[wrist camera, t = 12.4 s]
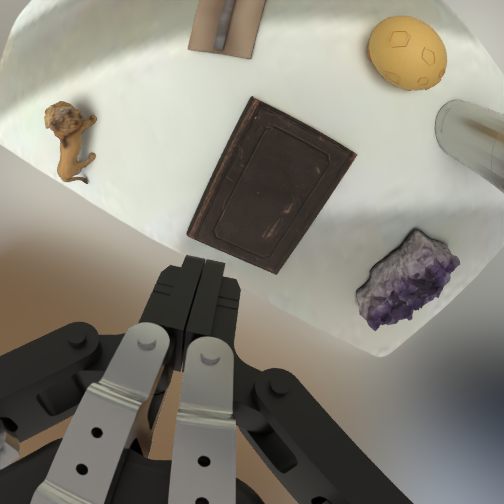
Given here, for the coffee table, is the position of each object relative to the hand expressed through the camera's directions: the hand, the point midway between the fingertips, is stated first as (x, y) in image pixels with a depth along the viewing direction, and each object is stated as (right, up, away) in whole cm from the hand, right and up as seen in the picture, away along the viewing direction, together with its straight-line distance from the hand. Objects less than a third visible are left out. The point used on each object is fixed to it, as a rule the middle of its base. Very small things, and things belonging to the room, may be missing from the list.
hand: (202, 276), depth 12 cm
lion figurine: (-24, +19, +28) cm, 41 cm away
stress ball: (+21, +28, +19) cm, 39 cm away
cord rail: (0, +35, +15) cm, 38 cm away
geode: (+29, -2, +39) cm, 48 cm away
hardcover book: (+4, +10, +32) cm, 34 cm away
